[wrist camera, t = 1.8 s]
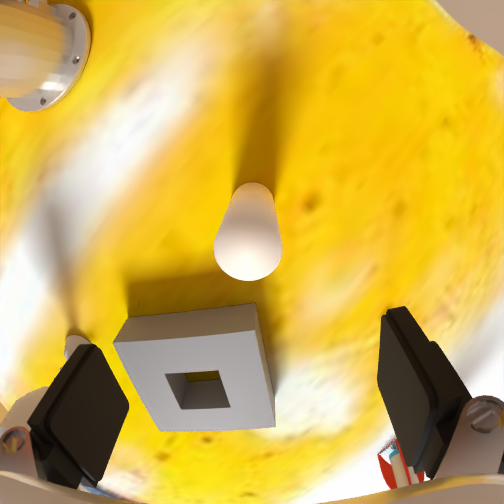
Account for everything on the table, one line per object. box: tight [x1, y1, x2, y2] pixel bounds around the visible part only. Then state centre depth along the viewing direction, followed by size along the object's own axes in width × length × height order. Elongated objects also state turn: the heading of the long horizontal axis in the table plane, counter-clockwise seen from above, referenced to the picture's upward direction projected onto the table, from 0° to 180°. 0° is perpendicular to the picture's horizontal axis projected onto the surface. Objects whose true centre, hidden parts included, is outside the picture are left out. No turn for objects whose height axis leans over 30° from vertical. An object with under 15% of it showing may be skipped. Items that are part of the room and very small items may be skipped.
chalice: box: [0, 335, 91, 438], centre depth 29 cm, size 7×7×18 cm
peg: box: [214, 182, 282, 281], centre depth 25 cm, size 4×4×12 cm
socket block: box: [113, 303, 276, 432], centre depth 35 cm, size 15×15×5 cm
